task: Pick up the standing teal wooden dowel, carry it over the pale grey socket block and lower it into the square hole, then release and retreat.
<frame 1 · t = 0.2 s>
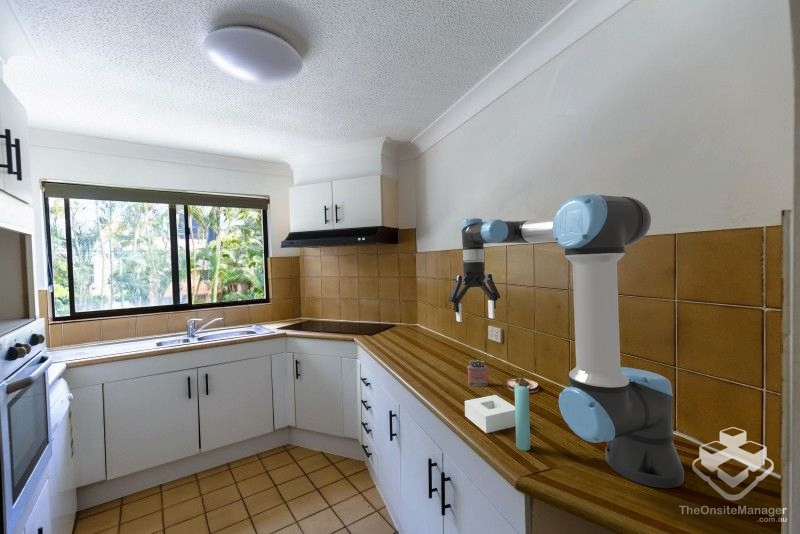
hand: (475, 319, 120), 29 cm above the worktop, fingers open, 13 cm apart
round flat dish: (522, 389, 131), on the worktop
lighter: (477, 385, 136), on the worktop
socket block: (491, 420, 105), on the worktop
peg: (523, 447, 90), on the worktop
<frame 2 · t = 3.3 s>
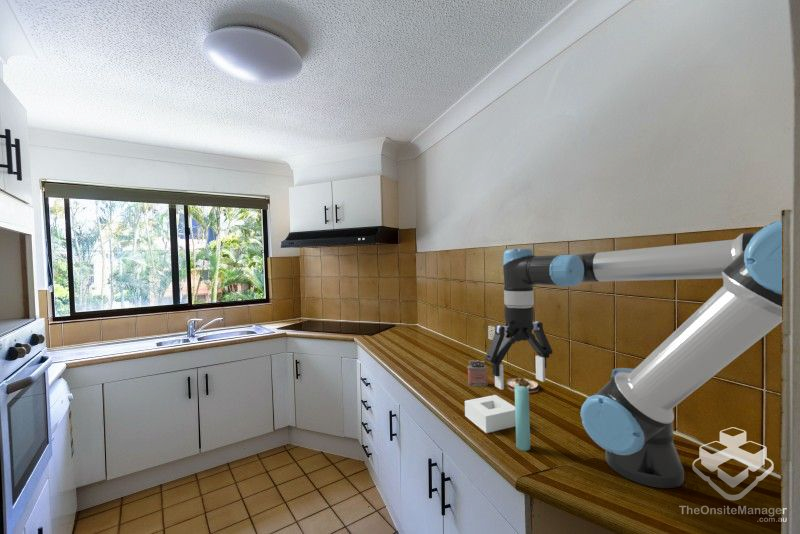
hand: (520, 383, 90), 17 cm above the worktop, fingers open, 13 cm apart
nothing on the worktop moved.
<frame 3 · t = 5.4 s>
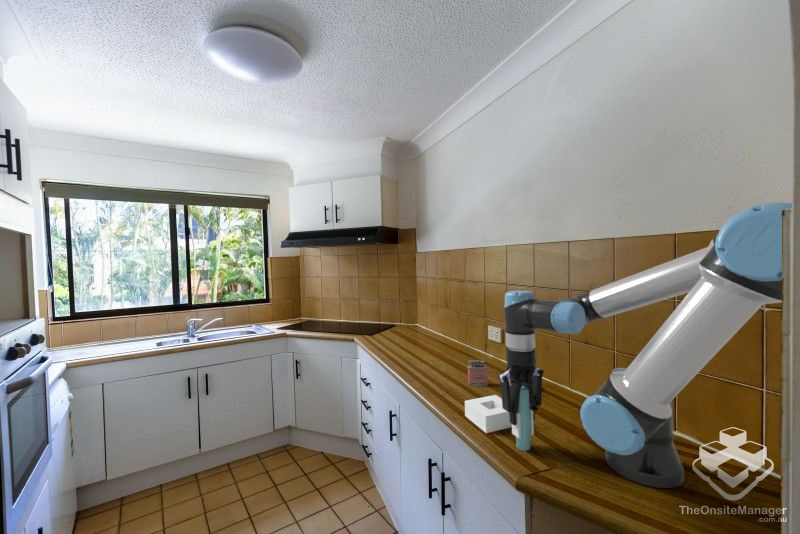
hand: (522, 433, 90), 4 cm above the worktop, fingers closed on peg, 3 cm apart
peg: (523, 447, 90), on the worktop, touching gripper
everything else where it was.
when the fingers open (6 cm above the worktop, at t = 9.6 s): peg drops 2 cm, resting in socket block.
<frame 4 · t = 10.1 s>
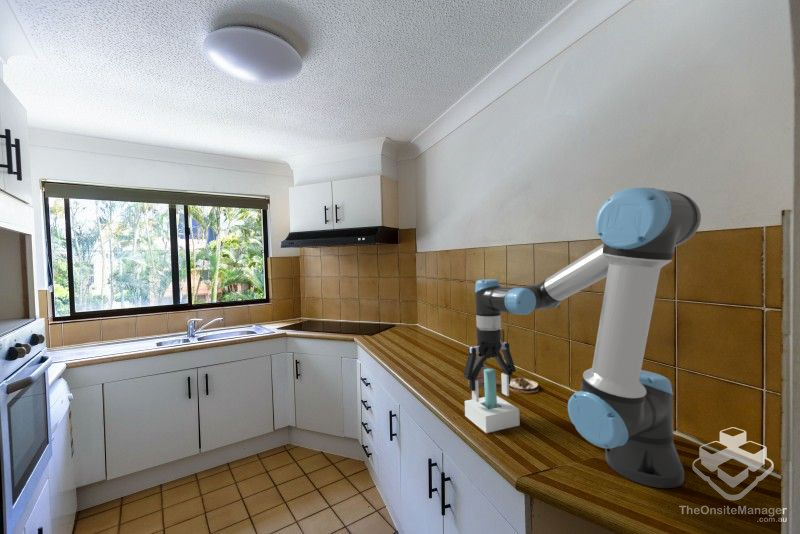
hand: (490, 397, 105), 7 cm above the worktop, fingers open, 10 cm apart
peg: (491, 420, 105), resting in socket block
everything else where it was.
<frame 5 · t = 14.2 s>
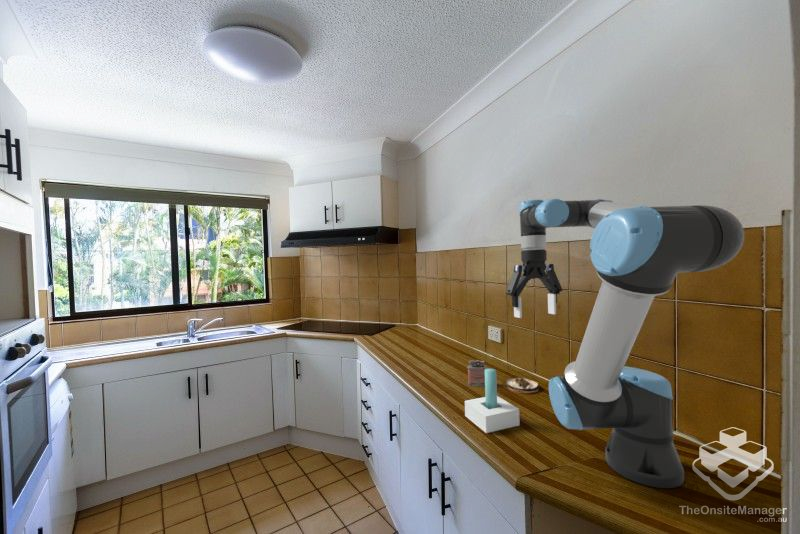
hand: (535, 315, 106), 33 cm above the worktop, fingers open, 13 cm apart
nothing on the worktop moved.
at the end: peg 0.2 cm off-centre on the socket block, point 0.0 cm above the socket block's base; peg tilted 0°; the gripper is holding nothing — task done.
